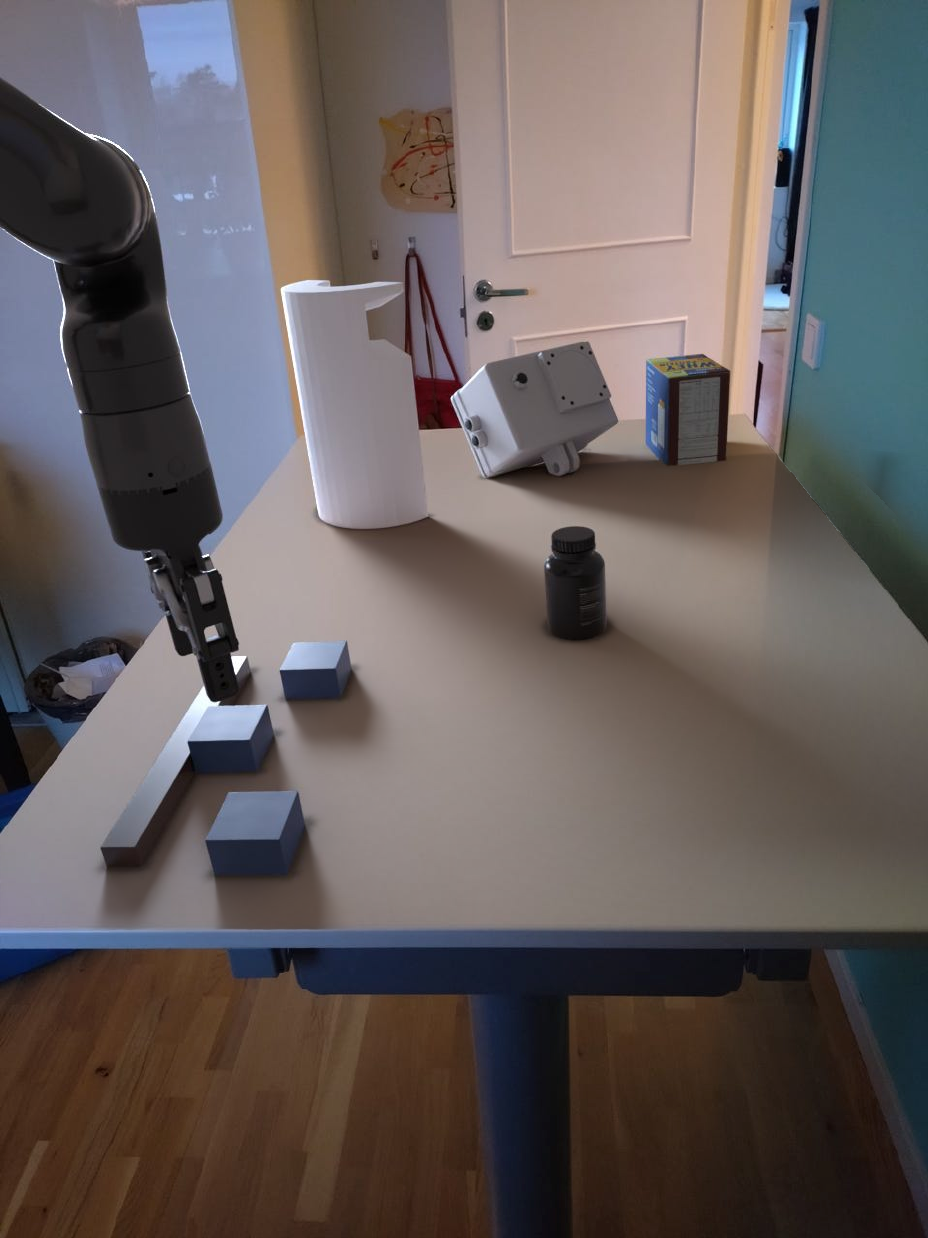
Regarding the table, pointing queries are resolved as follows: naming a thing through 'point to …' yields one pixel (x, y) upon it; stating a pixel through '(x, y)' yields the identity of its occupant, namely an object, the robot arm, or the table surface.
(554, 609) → the supplement bottle
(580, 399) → the junction box
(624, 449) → the table surface
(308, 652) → the far block
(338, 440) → the white tall curved block
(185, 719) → the straightedge
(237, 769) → the middle block
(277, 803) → the near block
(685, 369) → the protein box
